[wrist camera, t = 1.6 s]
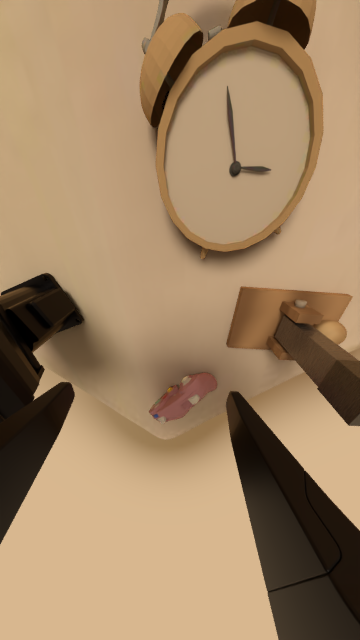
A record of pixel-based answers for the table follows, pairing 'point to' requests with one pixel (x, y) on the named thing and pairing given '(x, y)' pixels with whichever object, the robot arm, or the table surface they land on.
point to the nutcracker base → (272, 304)
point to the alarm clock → (233, 119)
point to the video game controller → (183, 397)
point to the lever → (324, 366)
